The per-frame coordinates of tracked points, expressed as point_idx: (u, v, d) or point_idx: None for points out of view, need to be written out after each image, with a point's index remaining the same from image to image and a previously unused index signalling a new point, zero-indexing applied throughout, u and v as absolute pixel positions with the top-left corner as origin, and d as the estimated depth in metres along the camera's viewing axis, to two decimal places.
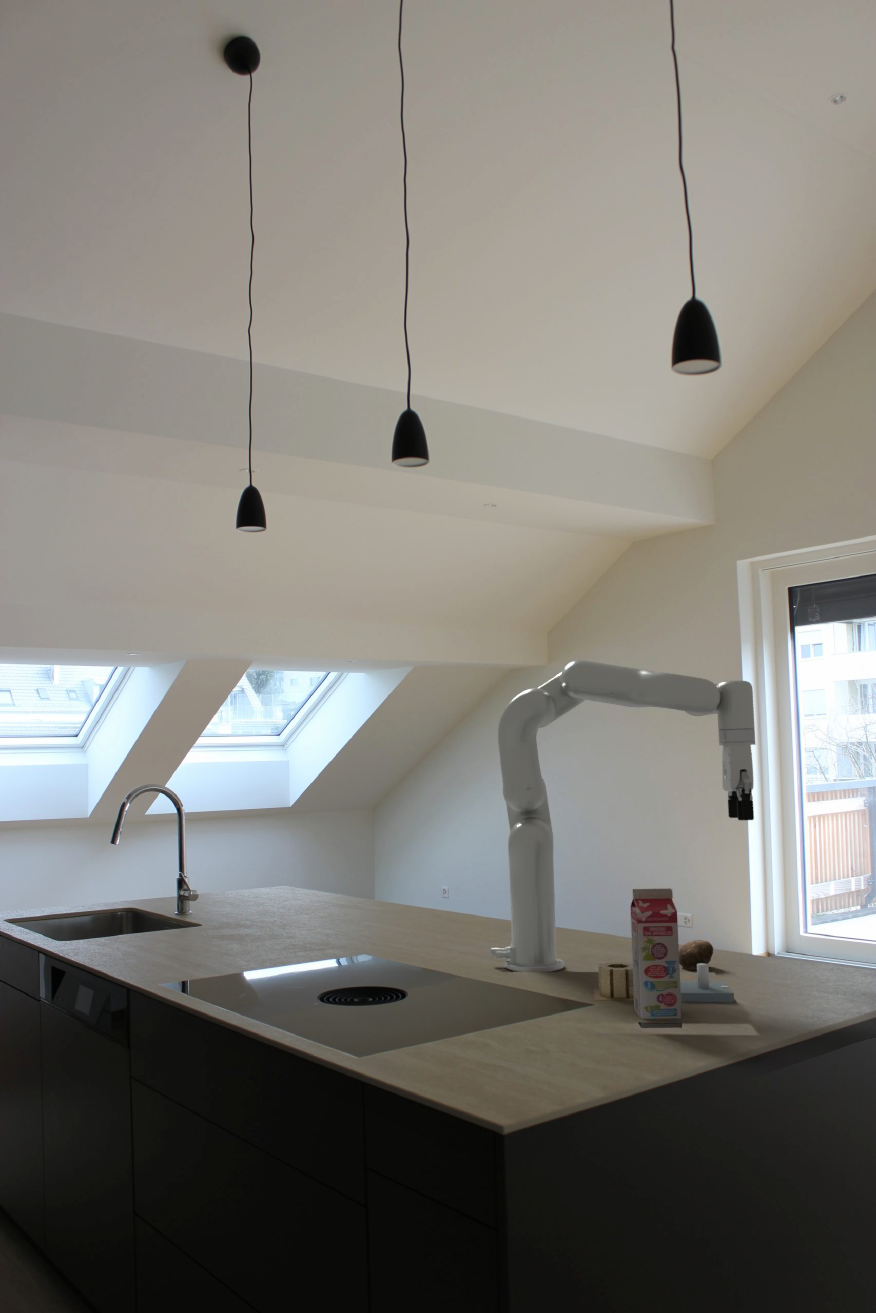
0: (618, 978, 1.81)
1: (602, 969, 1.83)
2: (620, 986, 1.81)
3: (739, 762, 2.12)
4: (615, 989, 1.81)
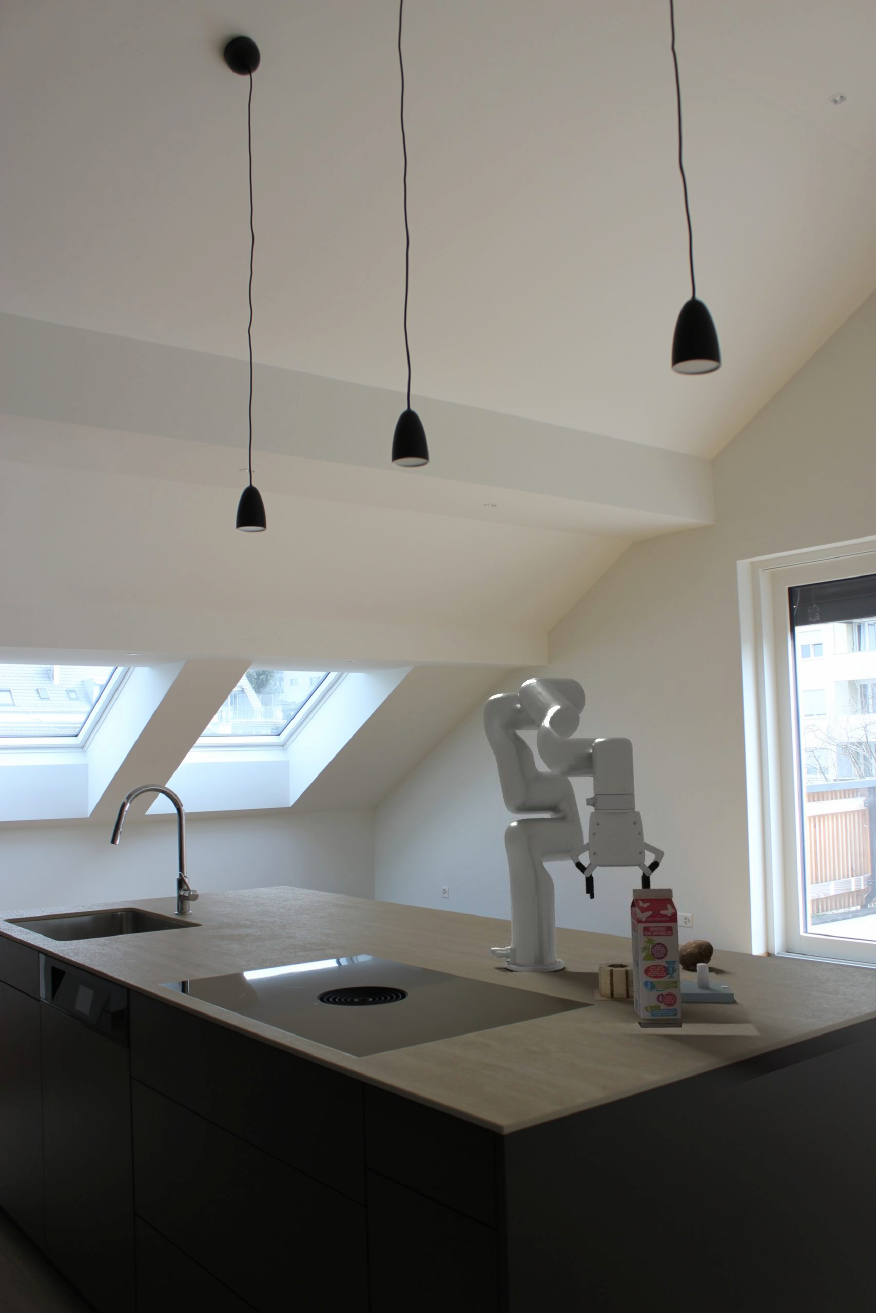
0: (618, 978, 1.81)
1: (602, 969, 1.83)
2: (620, 986, 1.81)
3: None
4: (615, 989, 1.81)
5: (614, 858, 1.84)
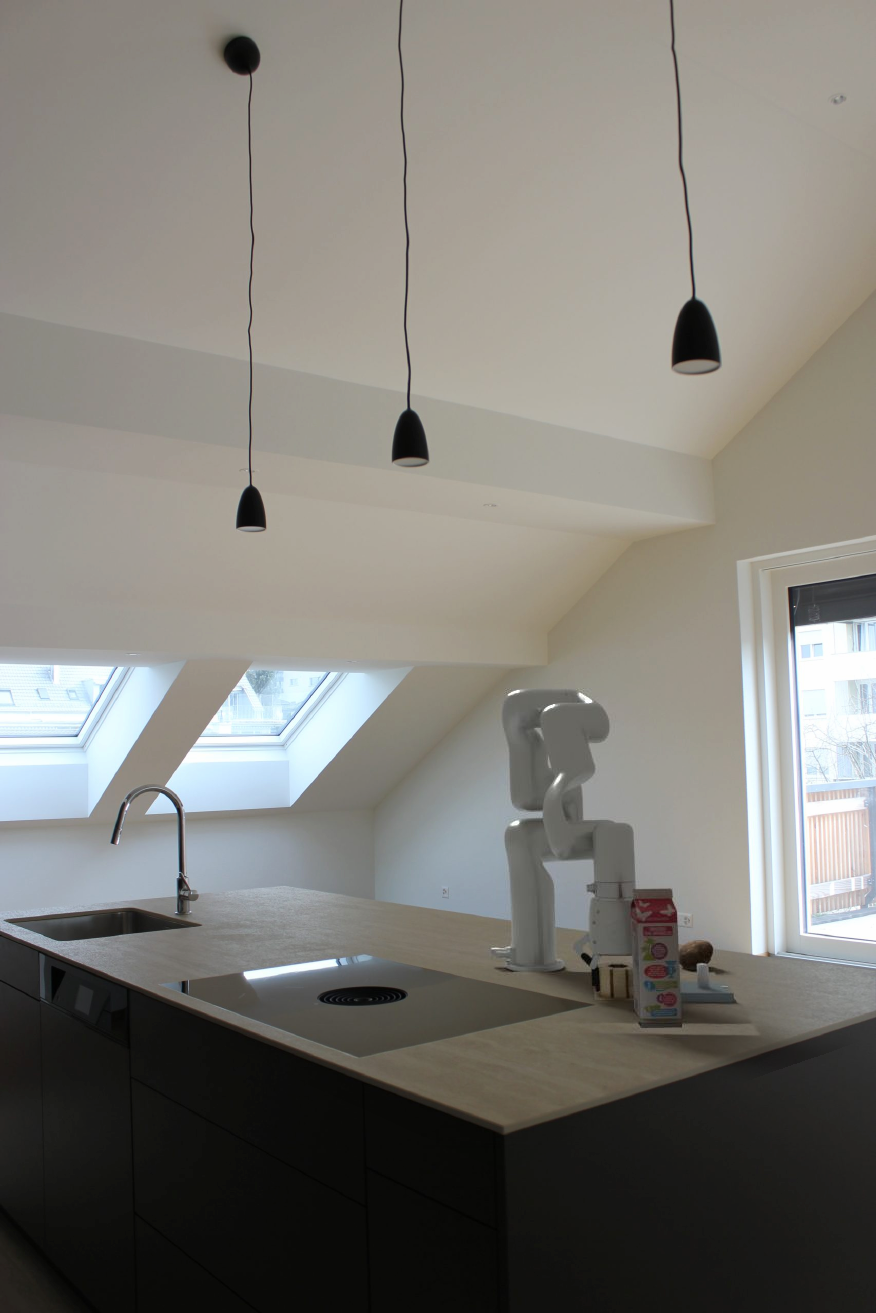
0: (618, 978, 1.81)
1: (602, 969, 1.83)
2: (620, 986, 1.81)
3: None
4: (615, 989, 1.81)
5: (614, 947, 1.82)
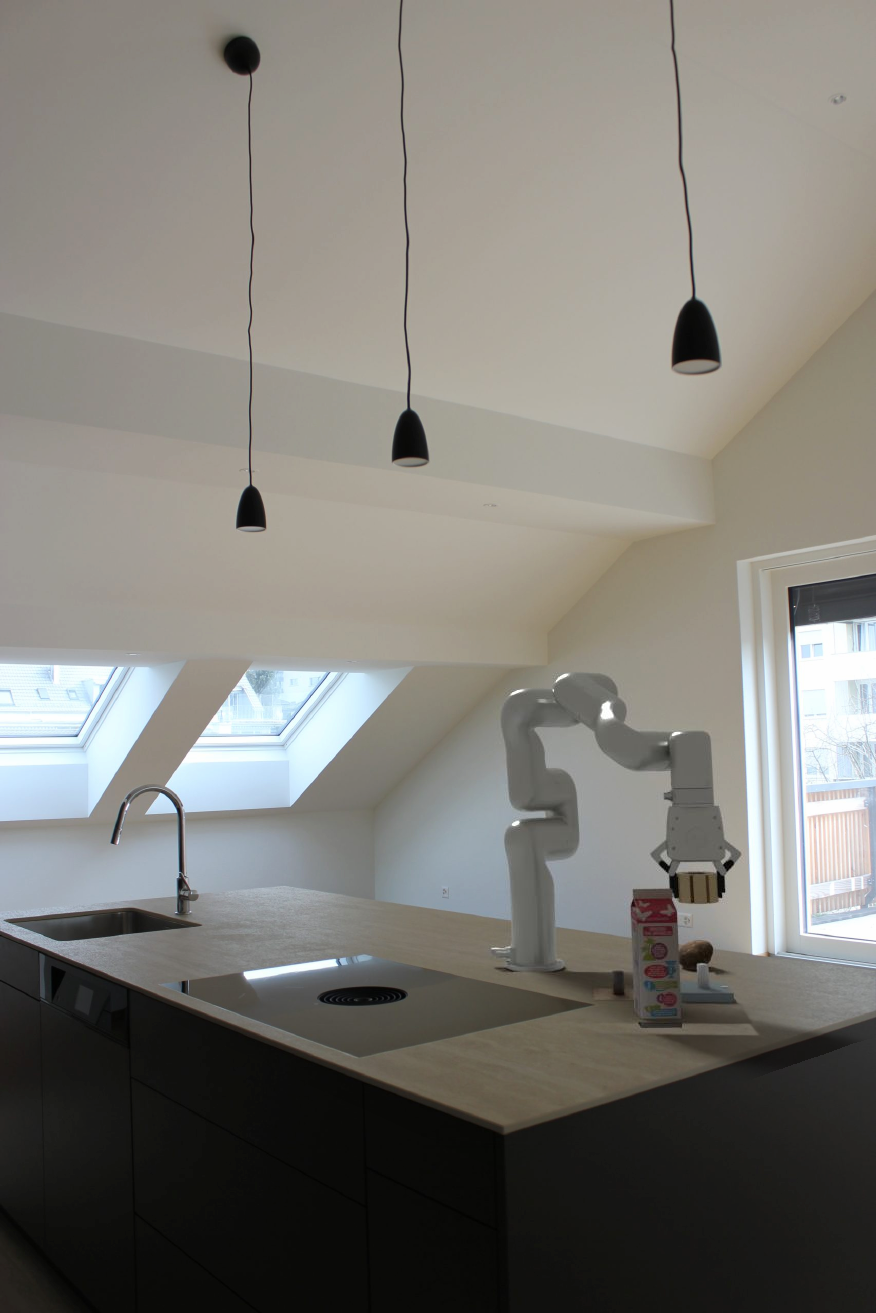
0: (698, 883, 1.80)
1: (681, 876, 1.82)
2: (700, 891, 1.80)
3: None
4: (695, 894, 1.80)
5: (694, 853, 1.81)
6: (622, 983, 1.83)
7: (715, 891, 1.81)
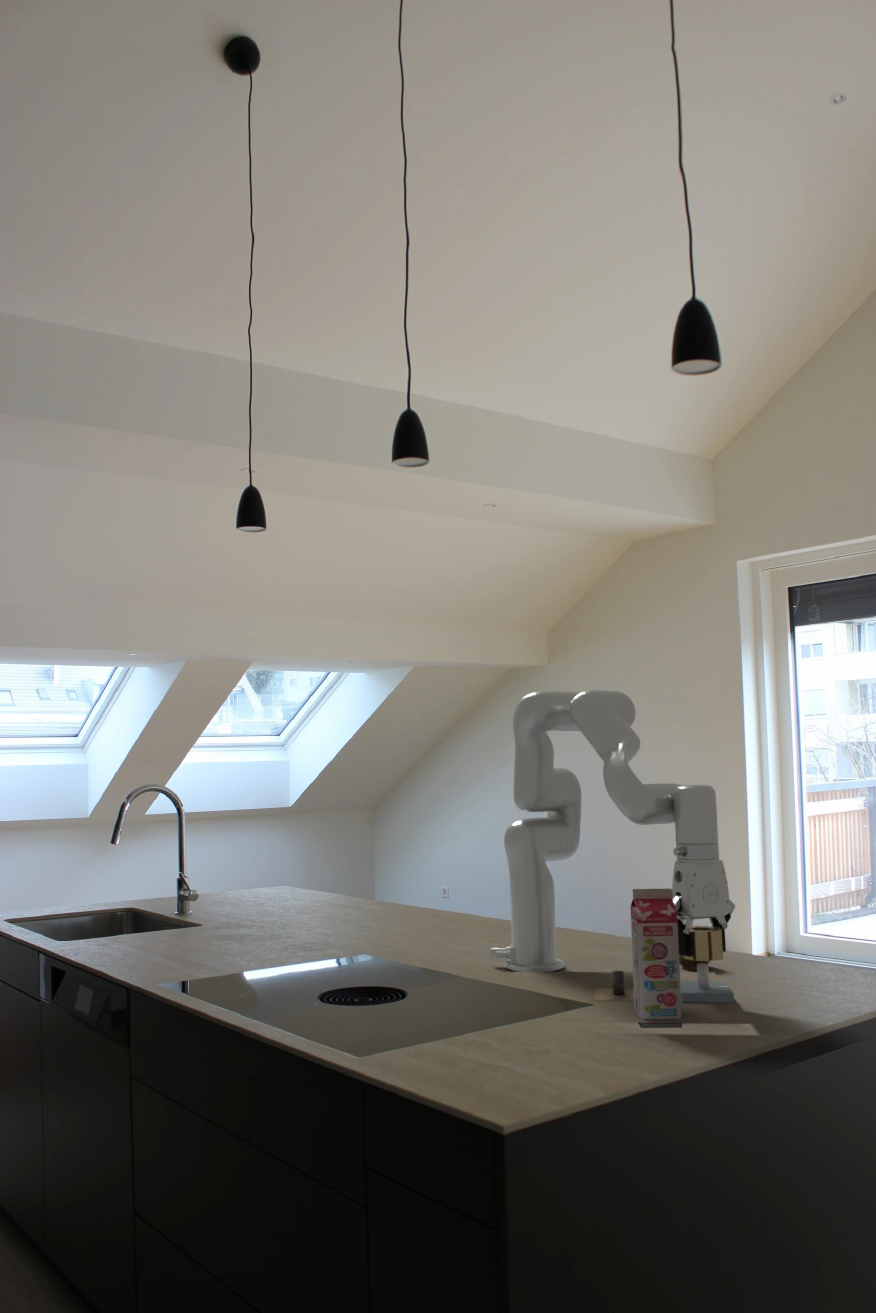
0: (715, 940, 1.79)
1: (697, 933, 1.79)
2: (717, 947, 1.79)
3: None
4: (713, 951, 1.79)
5: (708, 909, 1.80)
6: (622, 983, 1.83)
7: (722, 945, 1.82)
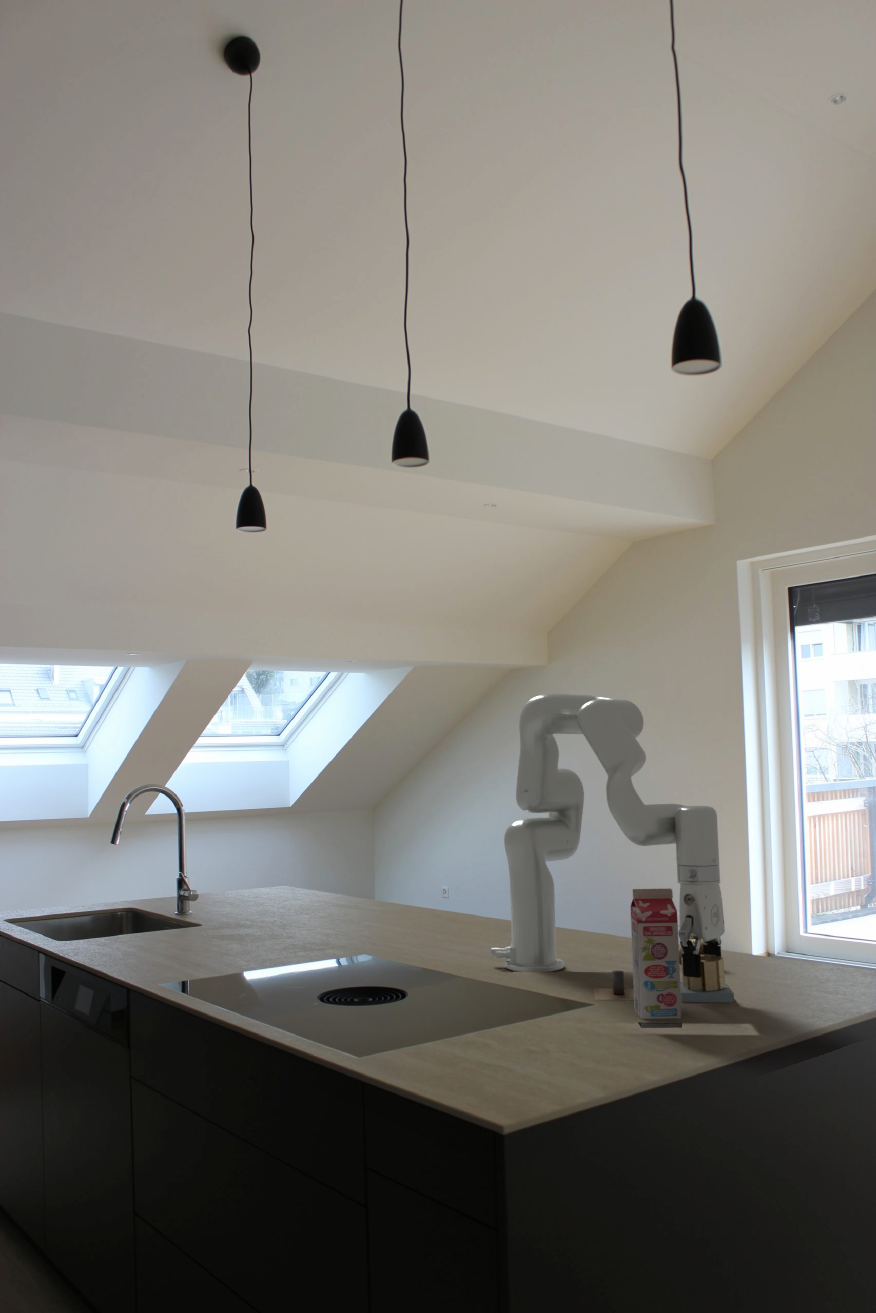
0: (721, 968, 1.80)
1: (706, 963, 1.78)
2: (722, 976, 1.80)
3: None
4: (720, 980, 1.79)
5: (714, 931, 1.80)
6: (622, 983, 1.83)
7: None
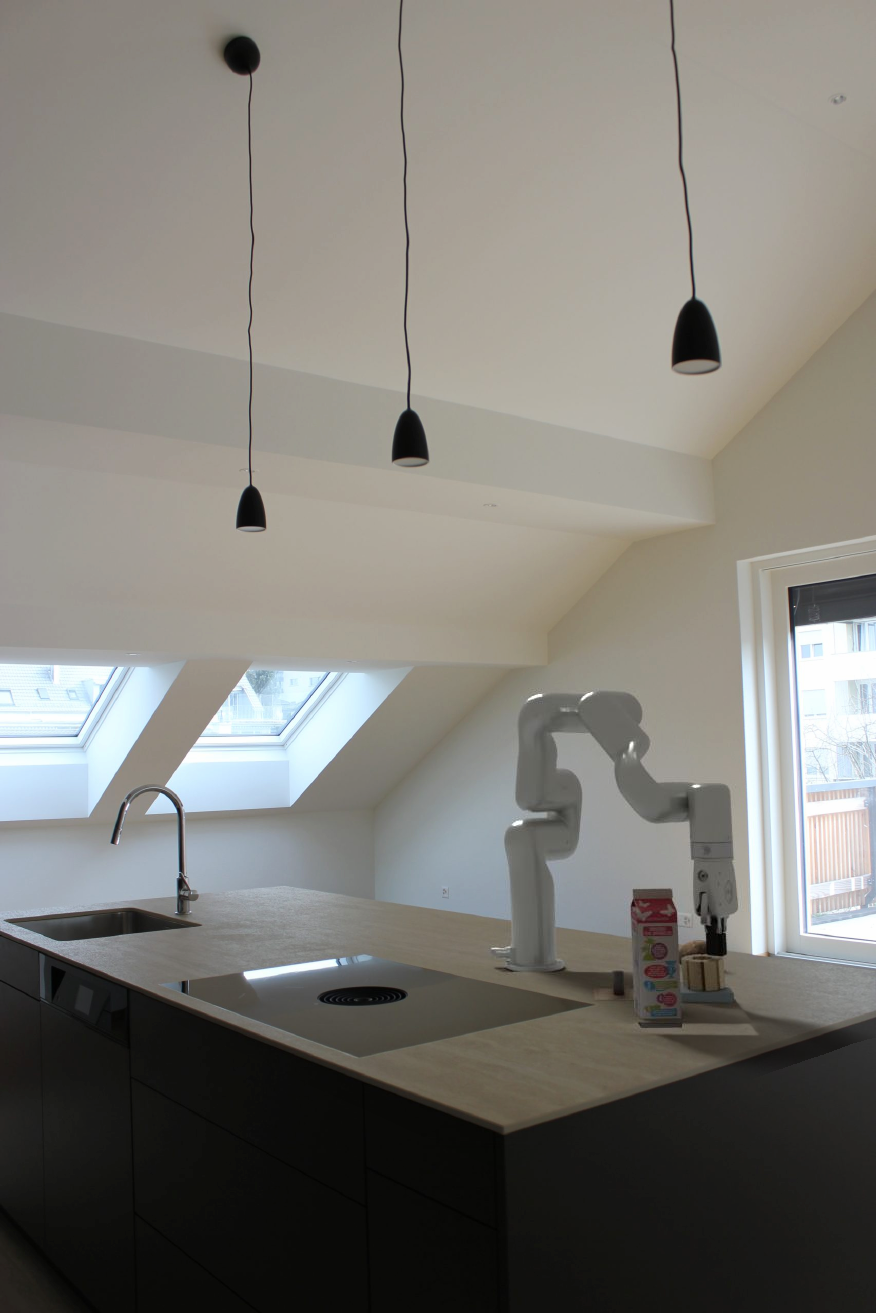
0: (721, 968, 1.80)
1: (706, 963, 1.78)
2: (722, 976, 1.80)
3: None
4: (720, 980, 1.79)
5: (728, 907, 1.81)
6: (622, 983, 1.83)
7: None
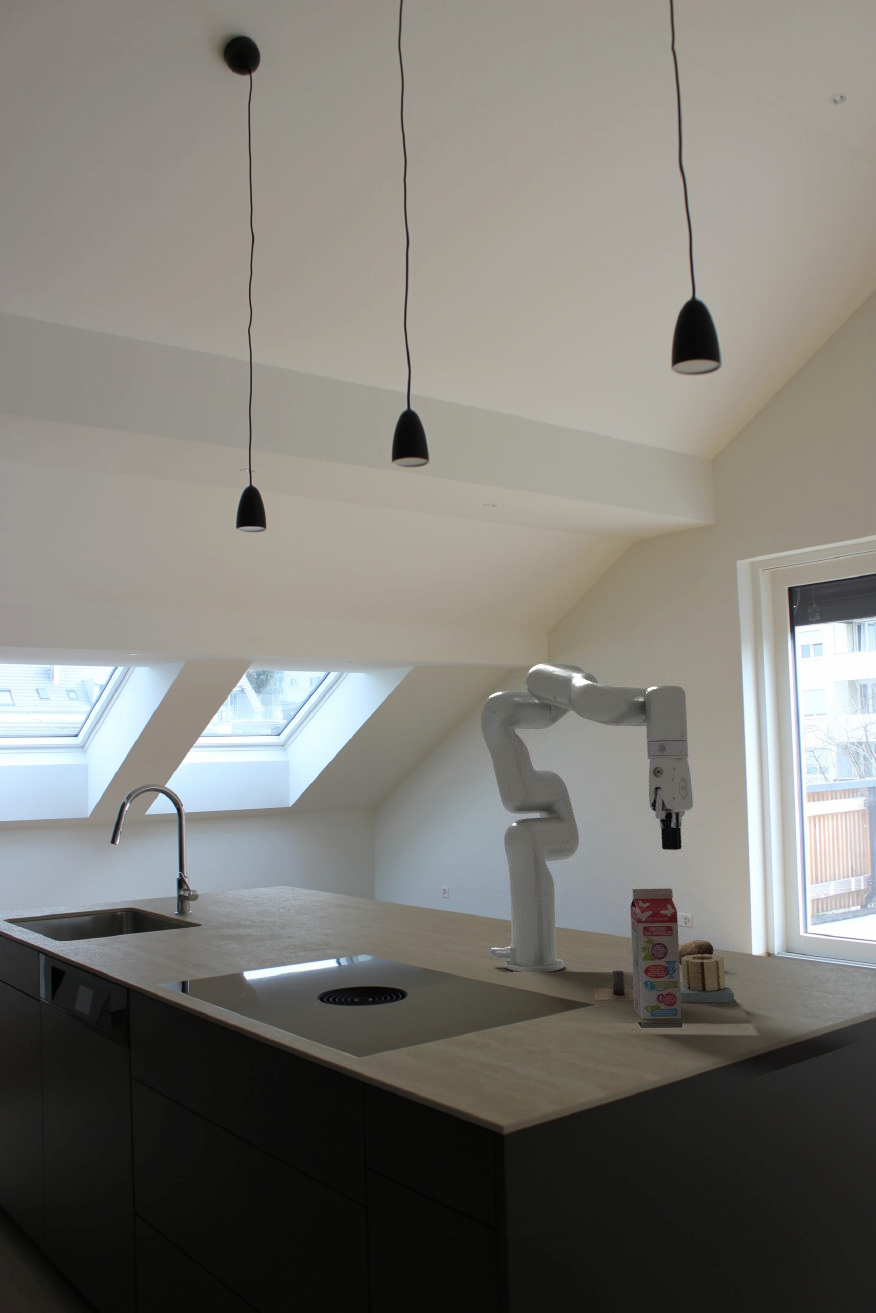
0: (721, 968, 1.80)
1: (706, 963, 1.78)
2: (722, 976, 1.80)
3: None
4: (720, 980, 1.79)
5: (682, 803, 1.88)
6: (622, 983, 1.83)
7: None
